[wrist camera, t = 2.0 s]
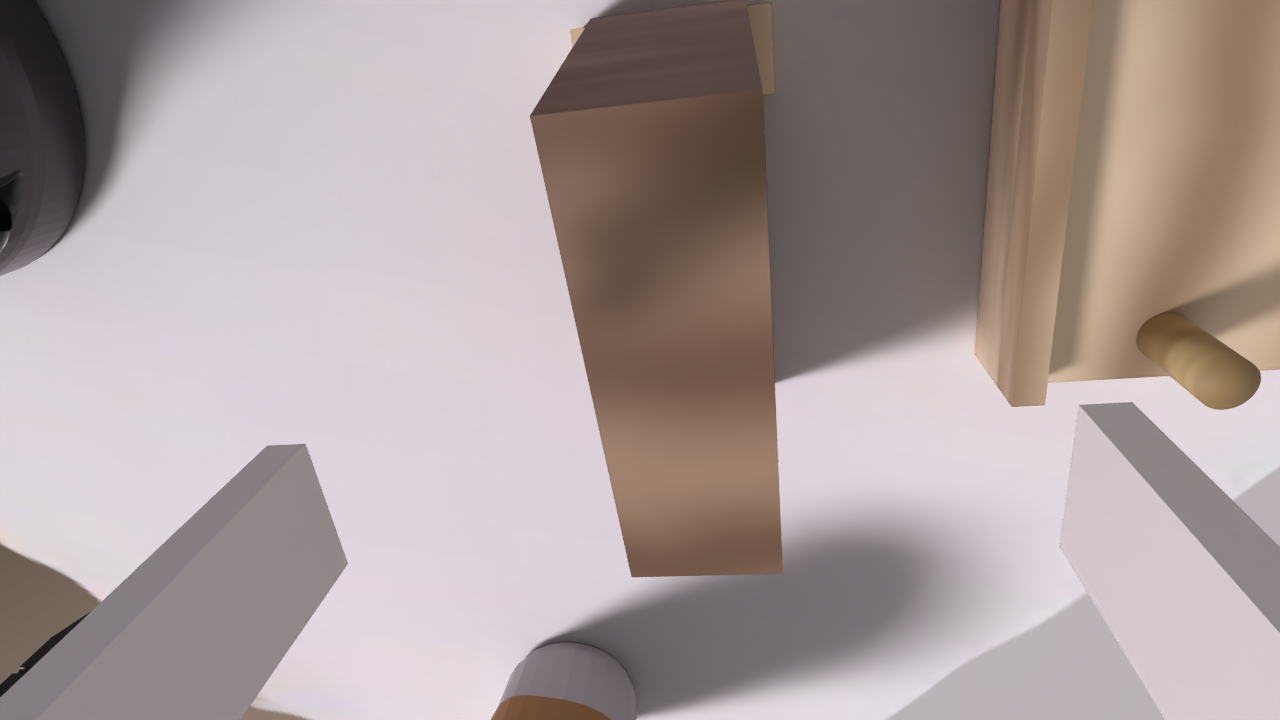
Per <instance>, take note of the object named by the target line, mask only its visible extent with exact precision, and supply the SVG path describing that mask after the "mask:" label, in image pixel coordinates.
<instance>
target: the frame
mask: <svg viewBox="0 0 1280 720" xmlns="http://www.w3.org/2000/svg"><path fill="white" fill-rule="evenodd" d="M530 118H531V123H532V127H533V132H534V136H535V141H536V145H537V150H538V154H539V159H540V164H541V168H542V173H543V177H544V182H545V186H546V191H547V195H548V200H549V204H550V209H551V213H552V218H553V222H554V227H555V232H556V236H557V241H558V245H559V250H560V254H561V259H562V263H563V268H564V272H565V277H566V281H567V286H568V291H569V295H570V300H571V304H572V309H573V313H574V318H575V322H576V327H577V331H578V336H579V340H580V345H581V349H582V354H583V359H584V363H585V368H586V372H587V377H588V381H589V386H590V390H591V395H592V399H593V404H594V408H595V413H596V417H597V422H598V427H599V431H600V436H601V440H602V445H603V449H604V454H605V458H606V463H607V467H608V472H609V476H610V481H611V485H612V490H613V495H614V499H615V504H616V508H617V513H618V517H619V522H620V526H621V531H622V535H623V540H624V544H625V549H626V553H627V558H628V563H629V567H630V572H631V576H632V577H660V576H702V575H743V574H783V570H782V546H781V522H780V499H779V475H778V451H777V427H776V403H775V379H774V355H773V331H772V307H771V283H770V259H769V235H768V211H767V187H766V163H765V139H764V115H763V92H762V84H761V79H760V74H759V68H758V63H757V58H756V52H755V47H754V42H753V36H752V31H751V26H750V20H749V15H748V10H747V4H746V0H727V1H719V2H712V3H704V4H697V5H690V6H682V7H675V8H667V9H660V10H652V11H645V12H637V13H630V14H622V15H615V16H607V17H600V18H592V19H590V21H589V22H588V24H587V25H586V27H585V29H584V30H583V32H582V34H581V35H580V37H579V38H578V40H577V42H576V43H575V45H574V46H573V48H572V50H571V51H570V53H569V54H568V56H567V58H566V59H565V61H564V62H563V64H562V66H561V67H560V69H559V70H558V72H557V74H556V75H555V77H554V78H553V80H552V82H551V83H550V85H549V86H548V88H547V90H546V91H545V93H544V94H543V96H542V98H541V99H540V101H539V102H538V104H537V106H536V107H535V109H534V111H533V112H532V114H531V115H530Z"/></svg>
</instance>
